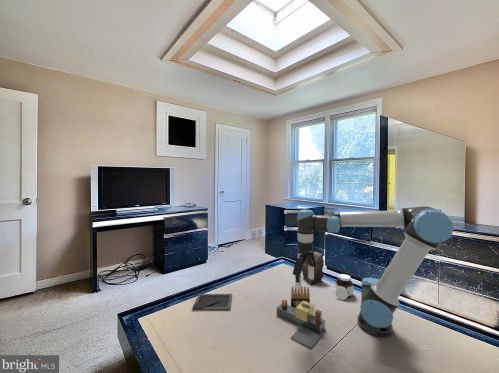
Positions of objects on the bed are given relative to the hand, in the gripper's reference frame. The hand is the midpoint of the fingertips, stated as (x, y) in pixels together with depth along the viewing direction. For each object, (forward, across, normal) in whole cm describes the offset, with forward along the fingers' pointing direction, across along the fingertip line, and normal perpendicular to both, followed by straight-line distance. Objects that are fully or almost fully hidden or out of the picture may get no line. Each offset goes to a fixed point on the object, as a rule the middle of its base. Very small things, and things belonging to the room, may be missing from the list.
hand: (305, 283), depth 113 cm
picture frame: (+21, +17, -50) cm, 57 cm away
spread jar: (+21, -40, +6) cm, 45 cm away
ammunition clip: (+21, -12, -9) cm, 25 cm away
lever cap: (+16, 0, 0) cm, 16 cm away
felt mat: (+20, +9, +5) cm, 23 cm away
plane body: (+20, 0, -3) cm, 21 cm away
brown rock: (+21, -46, -18) cm, 54 cm away
